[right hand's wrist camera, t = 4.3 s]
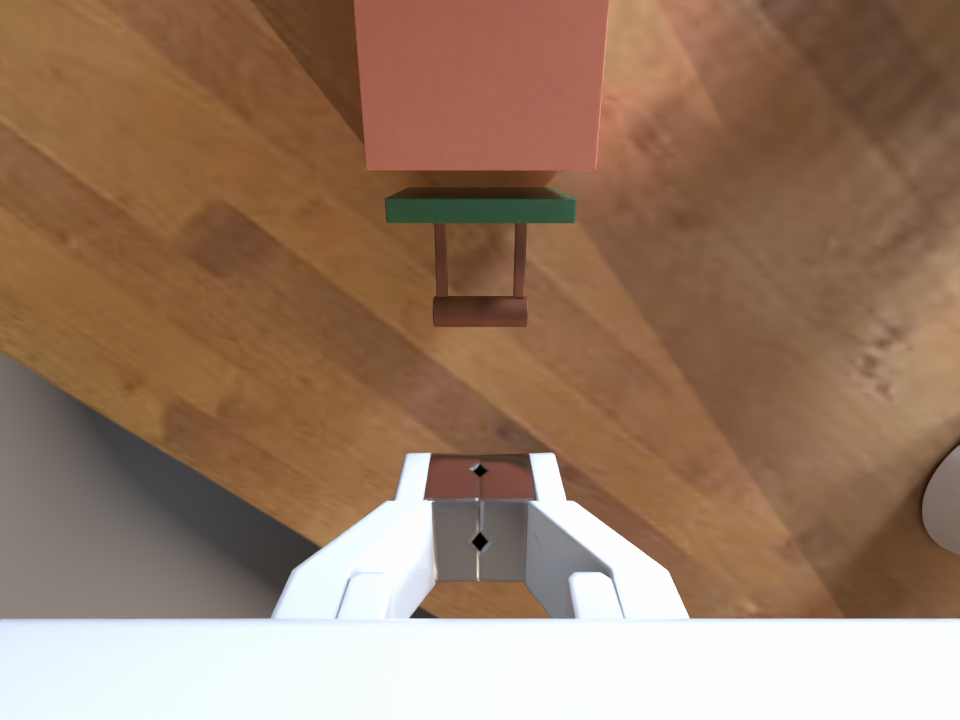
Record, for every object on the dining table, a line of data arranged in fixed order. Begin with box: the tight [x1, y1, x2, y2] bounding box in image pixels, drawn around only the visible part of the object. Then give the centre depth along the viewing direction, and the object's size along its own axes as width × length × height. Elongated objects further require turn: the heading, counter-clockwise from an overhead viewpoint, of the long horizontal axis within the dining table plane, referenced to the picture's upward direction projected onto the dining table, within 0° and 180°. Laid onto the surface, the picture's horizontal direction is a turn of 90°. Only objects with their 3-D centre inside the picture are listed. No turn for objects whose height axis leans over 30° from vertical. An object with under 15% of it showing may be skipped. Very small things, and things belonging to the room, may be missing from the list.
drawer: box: [385, 188, 576, 327], centre depth 27 cm, size 24×9×8 cm, turn 0°
